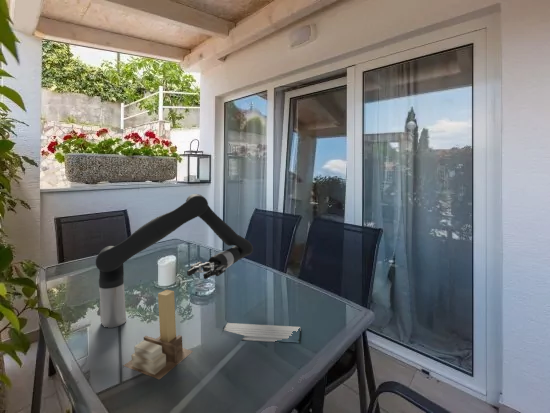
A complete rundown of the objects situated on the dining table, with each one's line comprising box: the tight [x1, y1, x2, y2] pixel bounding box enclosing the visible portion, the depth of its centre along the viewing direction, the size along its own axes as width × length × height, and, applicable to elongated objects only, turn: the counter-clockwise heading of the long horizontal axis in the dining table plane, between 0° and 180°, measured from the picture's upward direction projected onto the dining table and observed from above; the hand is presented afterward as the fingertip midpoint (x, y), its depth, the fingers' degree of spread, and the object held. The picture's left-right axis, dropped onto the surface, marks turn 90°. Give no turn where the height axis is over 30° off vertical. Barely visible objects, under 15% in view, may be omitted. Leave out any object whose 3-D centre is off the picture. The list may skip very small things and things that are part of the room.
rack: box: [122, 334, 194, 380], centre depth 105 cm, size 16×16×8 cm
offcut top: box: [133, 339, 162, 361], centre depth 100 cm, size 8×4×3 cm, turn 66°
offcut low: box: [130, 352, 166, 375], centre depth 101 cm, size 10×5×4 cm, turn 66°
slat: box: [157, 288, 177, 343], centre depth 108 cm, size 4×4×22 cm
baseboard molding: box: [222, 322, 301, 343], centre depth 122 cm, size 31×3×12 cm
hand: (195, 275), depth 120 cm, fingers open, 8 cm apart
